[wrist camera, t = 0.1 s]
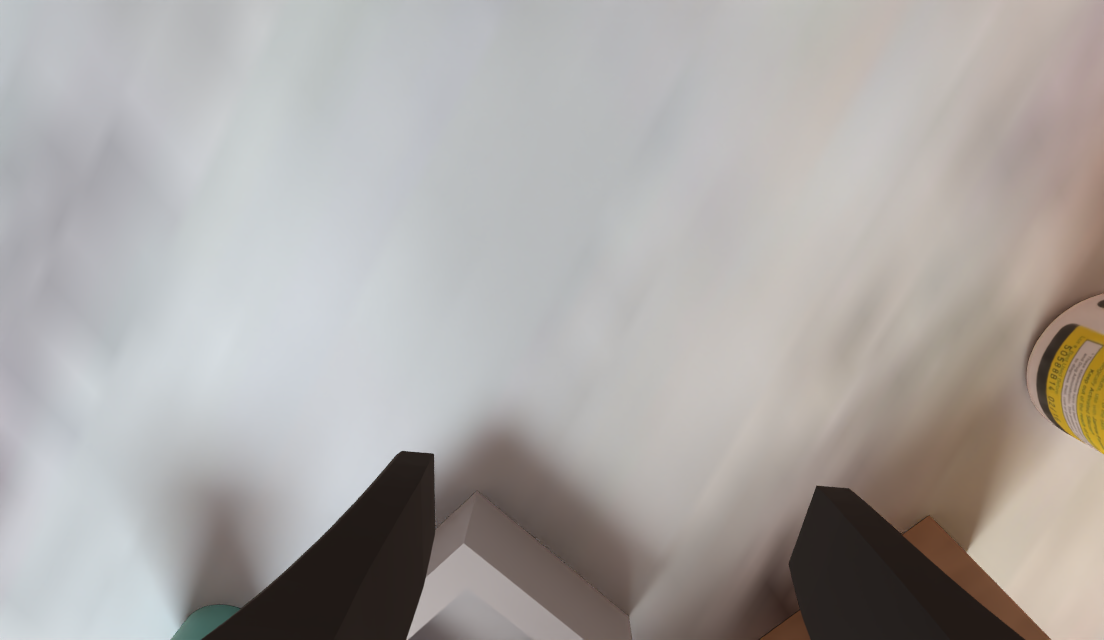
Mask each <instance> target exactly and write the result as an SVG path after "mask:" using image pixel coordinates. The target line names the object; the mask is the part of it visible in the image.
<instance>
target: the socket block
mask: <svg viewBox="0 0 1104 640" xmlns="http://www.w3.org/2000/svg"><path fill="white" fill-rule="evenodd" d="M406 640H632V636H631V628H630V621H629V616H628V615H626V614H625V613H624V612H623V611H622V610H620V609H619V608H618V607H617V606H615V605H614V604H613V603H612V602H611V601H609V600H608V599H607V598H606V597H605V596H603V595H602V594H601V593H600V592H599V591H597V590H596V589H595V588H594V587H593V586H591V585H590V584H589V583H588V582H587V581H585V580H584V579H583V578H582V577H581V576H579V575H578V574H577V573H576V572H575V571H573V570H572V569H571V568H570V567H568V566H567V565H566V564H565V563H564V562H562V561H561V560H560V559H559V558H558V557H556V556H555V555H554V554H553V553H552V552H550V551H549V550H548V549H547V548H546V547H544V546H543V545H542V544H541V543H540V542H538V541H537V540H536V539H535V538H534V537H532V536H531V535H530V534H529V533H528V532H526V531H525V530H524V529H523V528H521V527H520V526H519V525H518V524H517V523H515V522H514V521H513V520H512V519H511V518H509V517H508V516H507V515H506V514H505V513H503V512H502V511H501V510H500V509H499V508H497V507H496V506H495V505H494V504H493V503H491V502H490V501H489V500H488V499H487V498H485V497H484V496H483V495H482V494H480V493H479V492H478V491H476V492H475V493H474V494H473V495H472V496H471V497H470V498H469V499H468V500H467V501H465V502H464V503H463V504H462V505H461V506H460V507H459V508H458V509H457V510H456V511H455V512H454V513H453V514H452V515H450V516H449V517H448V518H447V519H446V520H445V521H444V522H443V523H442V524H441V525H440V526H439V527H438V528H437V529H435V537H434V542H433V546H432V551H431V556H430V561H429V565H428V570H427V574H426V579H425V583H424V587H423V591H422V594H421V597H420V600H419V603H418V606H417V609H416V612H415V615H414V618H413V621H412V624H411V627H410V630H409V633H408V636H407V639H406Z"/></svg>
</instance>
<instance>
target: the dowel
mask: <svg viewBox="0 0 1104 640" xmlns="http://www.w3.org/2000/svg"><path fill="white" fill-rule="evenodd" d="M239 610H240V608H237V607H234V606H229V605H211V606H206V607H203V608H201V609H198V610H197V611H195V612H193V613H192V614H191V615H190V616H189V617H188V618H187V620H186V621H185V622H184V623H183V625H182V626H181V627H180V628H179V630H178V631H177V632H176V633H175V635H174V636H173V637H172V638H171V640H201V639H202V638H203V637H205V636H206V635H207V634H209V633H210V632H211V631H213V630H214V629H215V628H217V627H218V626H219V625H221V624H222V623H223V622H225V621H226V620H227V619H229V618H230V617H231V616H232V615H234V614H235V613H236V612H237V611H239Z"/></svg>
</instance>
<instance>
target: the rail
mask: <svg viewBox="0 0 1104 640" xmlns="http://www.w3.org/2000/svg"><path fill="white" fill-rule="evenodd" d="M903 536H904V537H905V538H906V539H907V540H908V541H909V542H910V543H912V544H913V545H914V546H915V547H916V548H917V549H918V550H919V551H921V552H922V553H923V554H924V555H925V556H926V557H927V558H928V559H930V560H931V561H932V562H933V563H934V564H935V565H936V566H938V567H939V568H940V569H941V570H942V571H943V572H944V573H945V574H947V575H948V576H949V577H950V578H951V579H952V580H954V581H955V582H956V583H957V584H958V585H959V586H961V587H962V588H963V589H964V590H965V591H966V592H968V593H969V594H970V595H971V596H972V597H974V598H975V599H976V600H977V601H978V602H980V603H981V604H982V605H983V606H984V607H986V608H987V609H988V610H989V611H991V612H992V613H993V614H994V615H995V616H997V617H998V618H999V619H1000V620H1002V621H1003V622H1004V623H1005V624H1007V625H1008V626H1009V627H1010V628H1012V629H1013V630H1014V631H1015V632H1017V633H1018V634H1019V635H1020V636H1022V637H1023V638H1024V639H1025V640H1051V639H1050V638H1049V637H1048V636H1047V635H1046V634H1045V633H1044V632H1043V631H1042V630H1041V629H1040V628H1039V626H1038V625H1037V624H1036V623H1035V622H1034V621H1033V620H1032V619H1031V618H1030V617H1029V616H1028V615H1027V614H1026V613H1025V612H1024V611H1023V610H1022V609H1021V608H1020V607H1019V606H1018V605H1017V604H1016V603H1015V602H1014V601H1013V600H1012V599H1011V598H1010V597H1009V596H1008V595H1007V594H1006V593H1005V592H1004V591H1003V590H1002V589H1001V588H1000V587H999V586H998V585H997V584H996V582H995V581H994V580H993V579H992V578H991V577H990V576H989V575H988V574H987V573H986V572H985V571H984V570H983V569H982V568H981V567H980V566H979V565H978V564H977V563H976V562H975V561H974V560H973V559H972V558H971V557H970V556H969V555H968V554H967V553H966V552H965V551H964V550H963V549H962V548H961V547H960V546H959V545H958V544H957V543H956V542H955V541H954V540H953V539H952V538H951V537H950V536H949V535H948V534H947V533H946V532H945V531H944V530H943V529H942V528H941V527H940V526H939V525H938V524H937V523H936V522H935V521H934V520H933V519H932V518H931V517H930V516H928V517H926V518H925V519H923V520H922V521H921V522H919V523H918V524H917V525H915V526H914V527H913V528H911V529H910V530H908V531H907V532H906V533H904V534H903ZM760 640H811V639H810V637H809V634H808V631H807V629H806V626H805V623H804V621H803V618H802V614H801V611H800V610H799V611H798V612H797V613H795V614H794V615H792V616H791V617H790V618H788V619H787V620H786V621H784V622H783V623H782V624H780V625H779V626H777V627H776V628H775V629H773V630H772V631H771V632H769V633H768V634H767V635H765V636H764V637H762V638H761V639H760Z"/></svg>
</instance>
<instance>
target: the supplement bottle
mask: <svg viewBox="0 0 1104 640" xmlns="http://www.w3.org/2000/svg"><path fill="white" fill-rule="evenodd" d="M1027 387H1028V392H1029V395H1030V398H1031V400H1032V402H1033V404H1034V405H1035V407H1036V408H1037V410H1038V411H1039V412H1040V413H1041V414H1042V415H1043V416H1044V417H1045V418H1046V419H1047V420H1048V421H1050V422H1051V423H1052V424H1054V425H1055V426H1057V427H1058V428H1060V429H1061V430H1063V431H1064V432H1066V433H1067V434H1069V435H1071V436H1073V437H1074V438H1076V439H1078V440H1080V441H1082V442H1083V443H1085V444H1087V445H1089V446H1090V447H1092V448H1094V449H1096V450H1097V451H1099V452H1101V453H1103V454H1104V293H1103V294H1099V295H1096V296H1093V297H1090V298H1088V299H1086V300H1083V301H1081V302H1079V303H1077V304H1075V305H1074V306H1072V307H1071V308H1069V309H1068V310H1066V311H1065V312H1063V313H1062V314H1061V315H1059V316H1058V317H1057V318H1056V319H1055V320H1054V321H1053V322H1052V323H1051V324H1050V325H1049V326H1048V327H1047V328H1046V330H1045V331H1044V332H1043V333H1042V335H1041V336H1040V338H1039V339H1038V341H1037V342H1036V344H1035V346H1034V348H1033V350H1032V353H1031V355H1030V358H1029V361H1028V365H1027Z"/></svg>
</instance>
